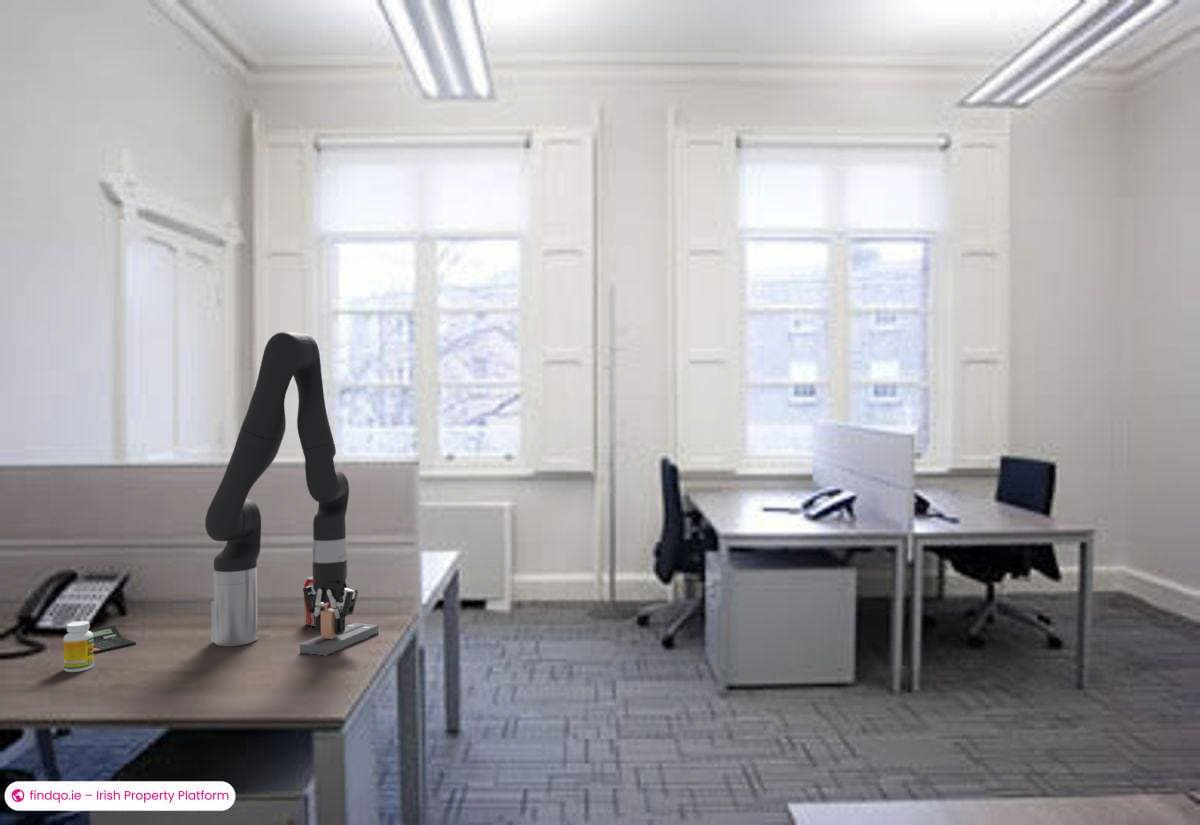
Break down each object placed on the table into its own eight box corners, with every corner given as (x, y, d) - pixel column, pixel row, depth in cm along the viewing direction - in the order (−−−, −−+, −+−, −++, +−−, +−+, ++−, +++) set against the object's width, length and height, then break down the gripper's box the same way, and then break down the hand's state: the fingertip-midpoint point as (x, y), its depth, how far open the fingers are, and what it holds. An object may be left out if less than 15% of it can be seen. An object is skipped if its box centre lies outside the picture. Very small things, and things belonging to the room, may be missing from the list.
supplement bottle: (65, 666, 175) (65, 621, 175) (95, 663, 178) (94, 618, 178) (61, 674, 171) (61, 628, 170) (92, 670, 173) (91, 624, 173)
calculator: (91, 655, 184) (91, 642, 184) (70, 646, 191) (70, 633, 191) (135, 645, 191) (135, 633, 191) (113, 637, 198) (113, 625, 198)
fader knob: (320, 637, 188) (320, 610, 187) (329, 634, 190) (329, 607, 190) (331, 639, 186) (331, 612, 186) (340, 635, 189) (340, 608, 189)
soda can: (322, 618, 213) (322, 572, 213) (339, 623, 209) (339, 575, 209) (298, 625, 207) (297, 577, 207) (315, 629, 203) (315, 580, 203)
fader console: (300, 652, 184) (299, 643, 184) (354, 630, 202) (354, 622, 202) (325, 656, 182) (325, 646, 181) (378, 633, 199) (378, 624, 199)
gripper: (293, 559, 187) (294, 634, 187) (344, 563, 182) (345, 640, 182) (315, 553, 194) (316, 625, 194) (366, 557, 189) (366, 631, 189)
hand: (330, 632), depth 188 cm, fingers open, 4 cm apart
